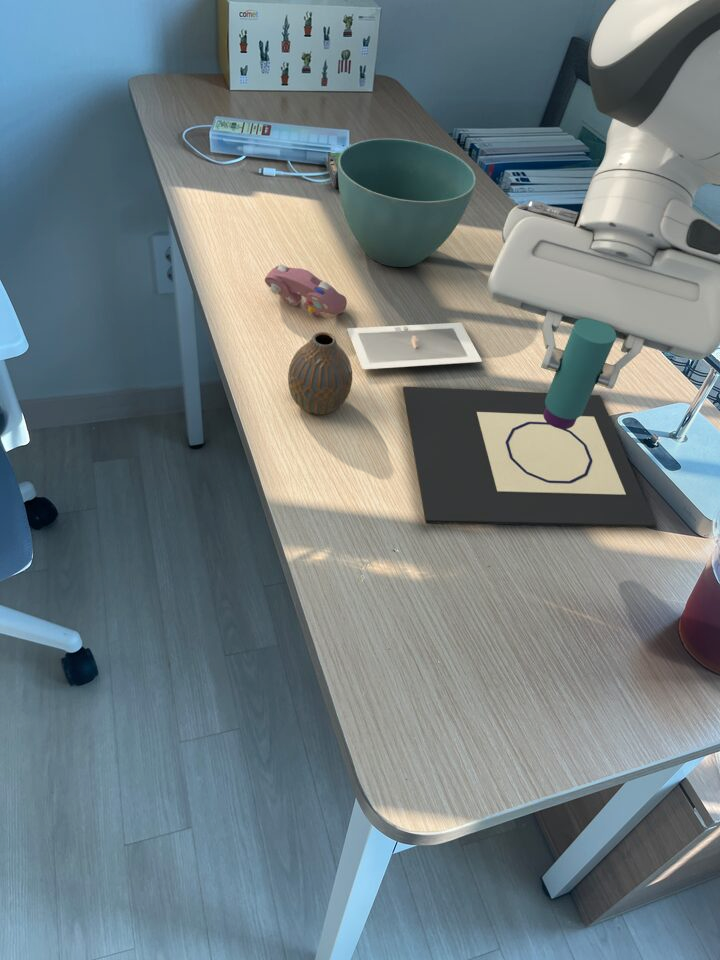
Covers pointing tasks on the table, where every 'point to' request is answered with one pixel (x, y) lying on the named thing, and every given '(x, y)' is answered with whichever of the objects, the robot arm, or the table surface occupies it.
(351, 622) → the table surface
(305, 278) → the video game controller
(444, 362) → the white framed picture
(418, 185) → the plant pot
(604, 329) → the cylinder
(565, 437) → the desk mat
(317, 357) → the vase
